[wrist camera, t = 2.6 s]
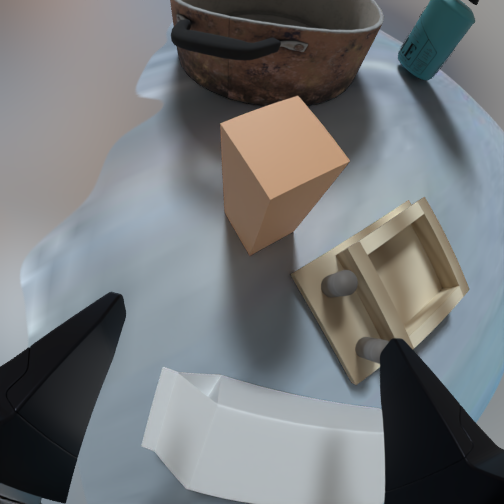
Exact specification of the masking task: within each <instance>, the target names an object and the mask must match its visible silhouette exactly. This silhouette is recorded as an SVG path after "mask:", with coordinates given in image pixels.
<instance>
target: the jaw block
mask: <svg viewBox="0 0 504 504" xmlns="http://www.w3.org/2000/svg"><path fill="white" fill-rule="evenodd" d="M220 131H221V155H222V175H223V194H224V211H225V214H226V216H227V217H228V219H229V221H230V223H231V224H232V226H233V228H234V230H235V231H236V233H237V235H238V237H239V238H240V240H241V242H242V244H243V245H244V247H245V249H246V250H247V252H248V254H249V256H251V255H252V254H254V253H256V252H258V251H260V250H261V249H263V248H265V247H267V246H269V245H270V244H272V243H274V242H276V241H278V240H280V239H281V238H283V237H285V236H287V235H289V234H290V233H292V232H294V230H295V229H296V228H297V227H298V226H299V224H300V223H301V222H302V221H303V219H304V218H305V217H306V216H307V215H308V213H309V212H310V211H311V210H312V208H313V207H314V206H315V205H316V203H317V202H318V201H319V200H320V198H321V197H322V196H323V195H324V193H325V192H326V191H327V190H328V188H329V187H330V186H331V185H332V183H333V182H334V181H335V180H336V178H337V177H338V176H339V175H340V173H341V172H342V171H343V170H344V168H345V167H346V166H347V165H348V163H349V162H350V160H349V159H348V158H347V156H346V155H345V153H344V152H343V151H342V149H341V148H340V147H339V145H338V144H337V143H336V141H335V140H334V139H333V137H332V136H331V135H330V134H329V132H328V131H327V130H326V129H325V127H324V126H323V125H322V124H321V122H320V121H319V120H318V119H317V117H316V116H315V115H314V114H313V113H312V111H311V110H310V109H309V108H308V107H307V105H306V104H305V103H304V102H303V101H302V100H301V99H300V97H299V96H296V97H292V98H289V99H286V100H283V101H280V102H277V103H274V104H271V105H268V106H265V107H262V108H259V109H256V110H254V111H251V112H248V113H245V114H243V115H240V116H238V117H235V118H232V119H230V120H227V121H225V122H223V123H220Z"/></svg>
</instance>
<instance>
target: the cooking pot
mask: <svg viewBox="0 0 504 504" xmlns="http://www.w3.org/2000/svg"><path fill="white" fill-rule="evenodd" d="M170 2H171V10H172V17H173V24H174V28H173V29H172V33H171V39H172V42H173V43H174V45H176V46H177V51H178V55H179V59H180V62H181V65H182V67H183V69H184V70H185V71H186V73H187V74H188V75H189V76H190V77H191V78H192V79H193V80H195V81H196V82H197V83H198V84H200V85H202V86H203V87H205V88H207V89H209V90H210V91H212V92H215V93H217V94H220V95H222V96H225V97H227V98H230V99H234V100H238V101H241V102H245V103H250V104H257V105H263V106H268V105H271V104H274V103H277V102H280V101H283V100H286V99H289V98H292V97H296V96H299V97H300V99H301V100H302V101H303V102H304V103H305V104H306V105H312V104H317V103H322V102H325V101H327V100H330V99H333V98H335V97H337V96H338V95H340V94H341V93H343V92H344V91H345V90H346V89H347V88H348V87H349V85H350V84H351V83H352V81H353V79H354V78H355V76H356V74H357V72H358V70H359V68H360V66H361V64H362V62H363V60H364V58H365V57H366V55H367V53H368V51H369V49H370V47H371V45H372V43H373V41H374V39H375V37H376V35H377V33H378V31H379V29H380V27H381V25H382V23H383V19H384V16H383V13H382V10H381V9H380V7H379V6H378V4H377V3H376V2H375V1H374V0H170Z"/></svg>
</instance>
